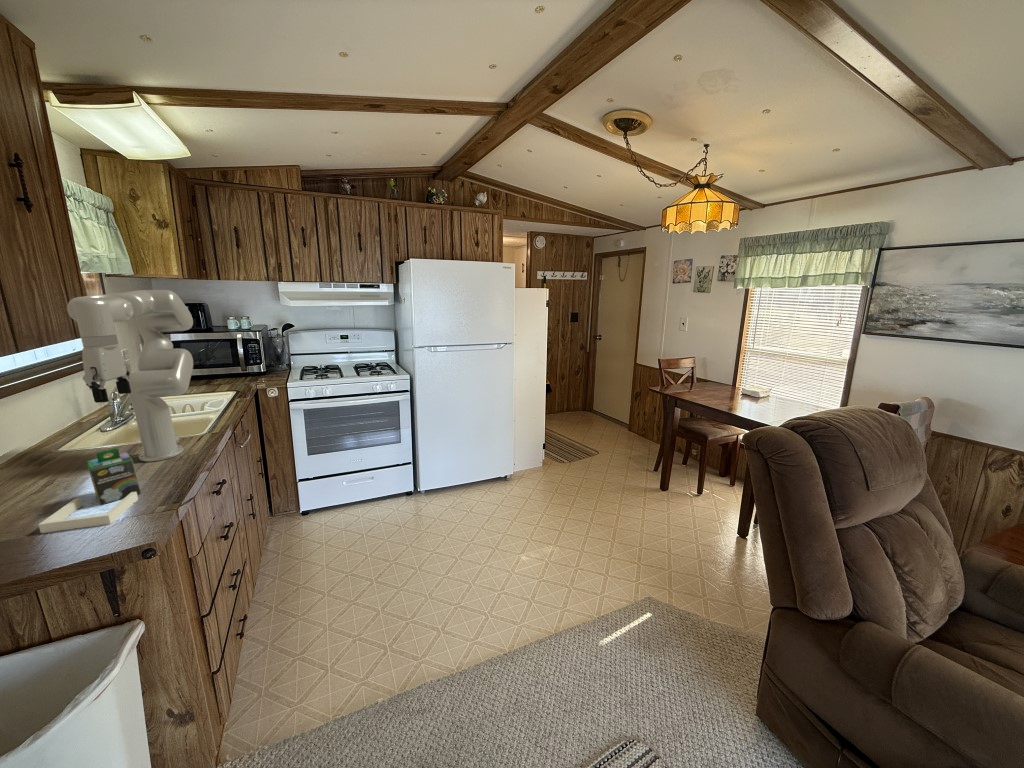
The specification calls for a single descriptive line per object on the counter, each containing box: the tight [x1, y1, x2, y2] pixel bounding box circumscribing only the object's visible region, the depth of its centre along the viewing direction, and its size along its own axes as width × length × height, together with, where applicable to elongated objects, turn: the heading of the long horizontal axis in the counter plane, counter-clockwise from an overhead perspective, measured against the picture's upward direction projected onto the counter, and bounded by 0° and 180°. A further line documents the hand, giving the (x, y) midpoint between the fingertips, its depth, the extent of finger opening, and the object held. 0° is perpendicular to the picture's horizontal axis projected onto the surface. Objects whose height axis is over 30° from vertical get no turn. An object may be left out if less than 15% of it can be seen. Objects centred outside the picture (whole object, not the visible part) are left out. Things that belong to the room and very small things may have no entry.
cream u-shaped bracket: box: [38, 492, 139, 534], centre depth 113 cm, size 13×14×2 cm
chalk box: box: [86, 447, 142, 506], centre depth 122 cm, size 9×9×15 cm
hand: (113, 397), depth 125 cm, fingers open, 9 cm apart
